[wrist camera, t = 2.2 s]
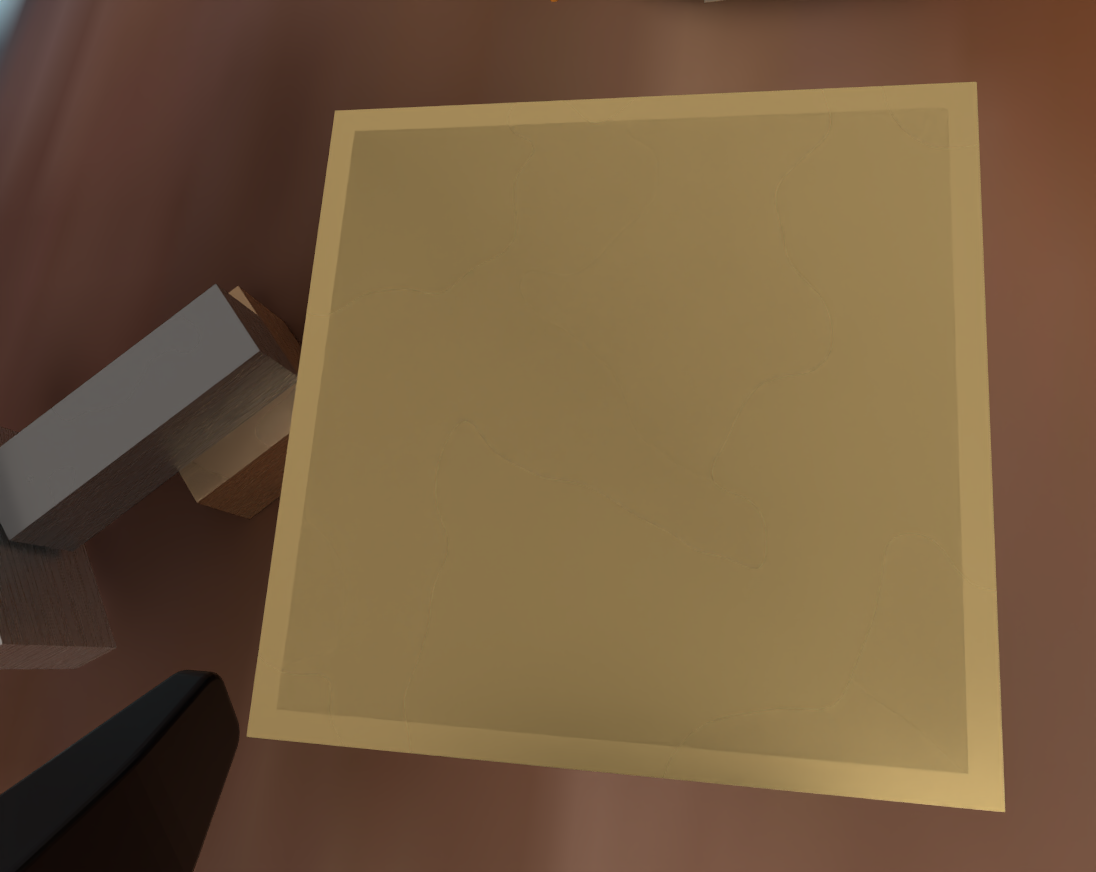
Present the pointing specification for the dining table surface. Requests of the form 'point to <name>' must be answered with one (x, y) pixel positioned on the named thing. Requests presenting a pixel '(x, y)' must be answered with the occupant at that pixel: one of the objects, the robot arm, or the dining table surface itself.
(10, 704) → the dining table surface
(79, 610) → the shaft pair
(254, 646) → the dining table surface
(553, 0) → the nautilus
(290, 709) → the block
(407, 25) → the dining table surface
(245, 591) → the dining table surface
